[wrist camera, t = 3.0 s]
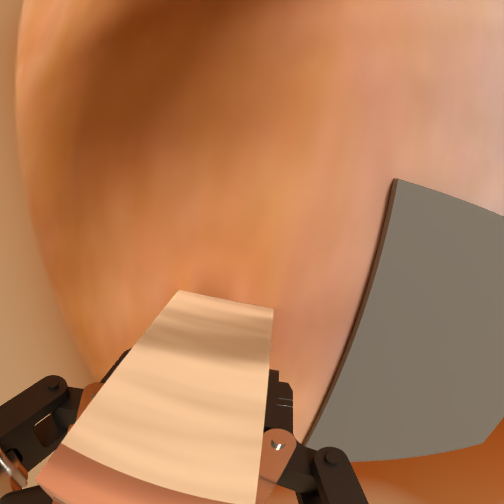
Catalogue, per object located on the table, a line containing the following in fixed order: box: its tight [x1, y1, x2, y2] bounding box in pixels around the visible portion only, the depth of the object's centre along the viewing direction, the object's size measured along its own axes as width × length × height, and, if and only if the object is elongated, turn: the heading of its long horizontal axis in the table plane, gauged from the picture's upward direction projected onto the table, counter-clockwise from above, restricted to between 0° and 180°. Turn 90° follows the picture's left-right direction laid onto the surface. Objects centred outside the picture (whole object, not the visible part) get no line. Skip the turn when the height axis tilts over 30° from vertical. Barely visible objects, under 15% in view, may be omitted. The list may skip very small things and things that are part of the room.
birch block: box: [35, 290, 274, 504], centre depth 10 cm, size 5×5×12 cm
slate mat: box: [303, 179, 504, 462], centre depth 14 cm, size 20×20×1 cm
